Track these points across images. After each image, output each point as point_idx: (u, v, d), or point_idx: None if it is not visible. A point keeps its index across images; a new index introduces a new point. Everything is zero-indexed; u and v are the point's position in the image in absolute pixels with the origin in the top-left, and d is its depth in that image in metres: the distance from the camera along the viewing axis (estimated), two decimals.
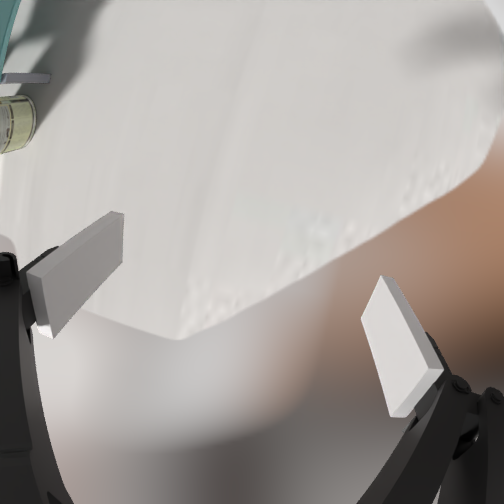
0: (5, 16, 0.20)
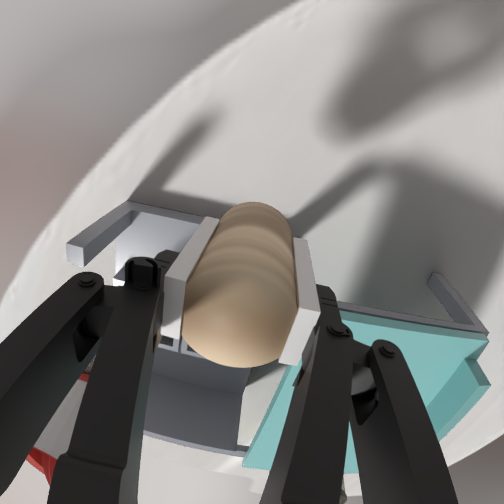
0: None
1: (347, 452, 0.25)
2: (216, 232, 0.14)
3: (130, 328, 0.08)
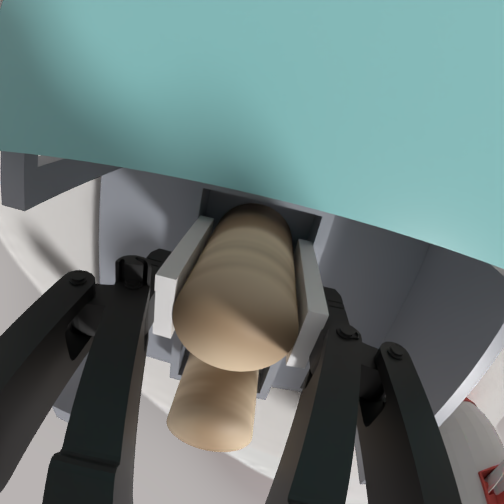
0: None
1: None
2: (214, 234, 0.14)
3: (121, 326, 0.08)
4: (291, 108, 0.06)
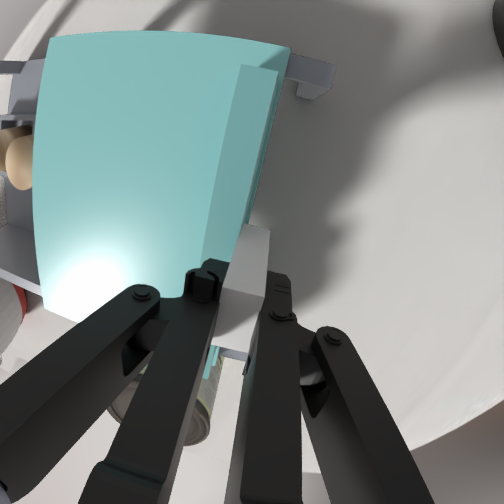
0: None
1: None
2: None
3: (186, 340, 0.08)
4: (51, 178, 0.17)
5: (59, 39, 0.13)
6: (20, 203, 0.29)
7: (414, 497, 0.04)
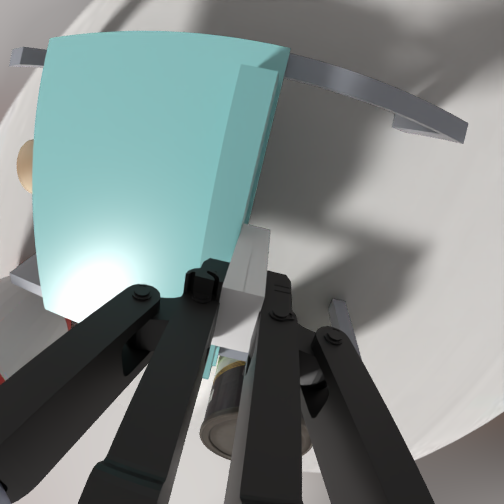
0: None
1: None
2: None
3: (186, 340, 0.08)
4: (51, 178, 0.17)
5: (59, 39, 0.13)
6: None
7: (414, 497, 0.04)
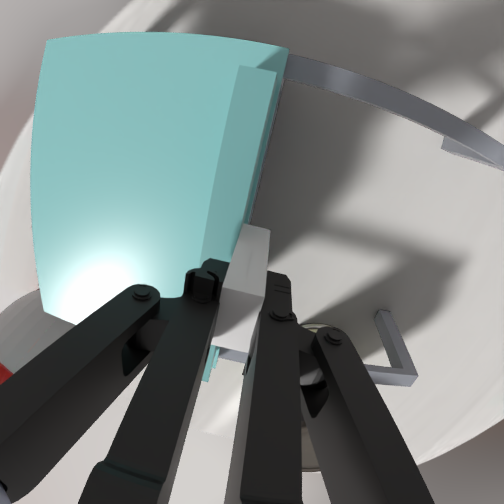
0: None
1: None
2: None
3: (185, 340, 0.08)
4: (49, 181, 0.17)
5: (56, 41, 0.13)
6: None
7: (414, 497, 0.04)
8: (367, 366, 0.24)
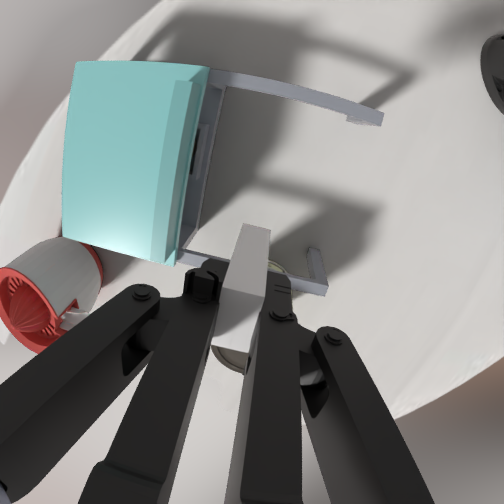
0: (180, 181, 0.29)
1: (127, 209, 0.32)
2: None
3: (185, 340, 0.08)
4: (76, 145, 0.29)
5: (82, 63, 0.25)
6: None
7: (414, 497, 0.04)
8: (283, 273, 0.36)
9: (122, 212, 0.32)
